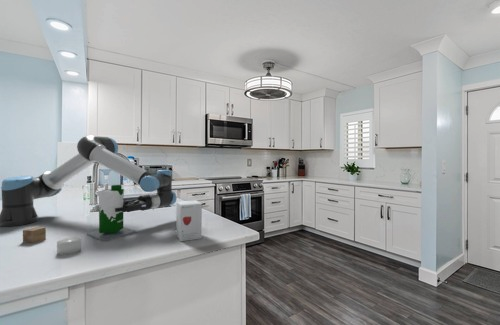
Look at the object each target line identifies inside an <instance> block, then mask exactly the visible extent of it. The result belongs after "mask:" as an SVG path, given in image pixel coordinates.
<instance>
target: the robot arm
mask: <svg viewBox="0 0 500 325" xmlns="http://www.w3.org/2000/svg"><path fill="white" fill-rule="evenodd" d="M76 145H77V146H76V148H77V152H78V153H77V154H76V155H74V156H73V157H71V158H70V159H69V160H67V161H65V162H64V163H63V164H61V165H59V166H58V167H57V168H55V169H53V170H52V171H51V170H50V171H49V170H48V171H45V172H43V173H42V174H41V175H39V176H37V177H36V176H35V177H33V176H32V175H19V176H11V177H8V178H7V177H6V178H5V179H3V180H2V181H1V187H0V188H1V211H0V227H15V226H16V227H17V226H23V225H28V224H29V225H30V224H32V223H36V222H38V220H39V216H38V213H37V211H36V208H35V207H34V200H38V199H43V198H51V197H54V196H56V195H58V194H60V192H61V191H63V190H62V189H63V187H64V184H65V183H66V182H68V181H70V179H72V178H74V177H75V176H78V175H79V174H81V172H83V171H85V170H86V169H88V168H89V167H90V166H92V165H94V164H95V165H99V164H100V165H101V166H103V167H105V168H107V169H108V170H111V171H113V172H114V173H116V174H118V175H120V176H122V177H124V178H126V179H128V180H130V181H131V182H132V183H135V184H137V185H139V188H140V189H141V190H142V191H143V192H145V193H146V192H147V193H148V194H142V195H139V196H138V197H137V199H136V198H135V199H132V200H131V199H127V200H123V207H122V206H116V207H109V208H106V215H108V214H114V213H119V212H122V211H123V213H124V212H126V213H130V212H134V211H138V210H140V211H148V210H151V209H152V210H155V209H157V208H162V207H169V206H171V205H174V204H176V203H177V195H176V192H175V191H173V190H172V189H173V188H172V185H173V184H172V181H173V180H172V179H173V178H172V177H173V176H172V174H173V173H172V171H171V169H159V170H157V171H156V174H153V173H151V172H150V171H147V170H146V169H144V168H142V167H140V166H138V165H137V164H135V163H133V162H131V161H129V160H127V159H126V158H123V157H122V156H120V155H118V152H119V145H118V143H117V141H116V140H115V139H114V138H112V137H109V136H99V135H98V136H96V135H85V136H82V137H81V138H80V139H79V141H77V144H76ZM155 191H156V193H152V192H155ZM149 192H150V193H149ZM94 212H95V213H97V212H98V213H99V204H97V205H96V204H95V205H94Z"/></svg>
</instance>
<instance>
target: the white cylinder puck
mask: <svg viewBox="0 0 500 325" xmlns="http://www.w3.org/2000/svg"><path fill="white" fill-rule="evenodd" d="M80 251H82V238H81V237H77V236H75V237H68V238H67V237H66V238H63V239H60V240H58V241H57V242H56V254H57V255H59V256H60V255H61V256H67V255H73V254H75V253H78V252H80Z"/></svg>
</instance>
